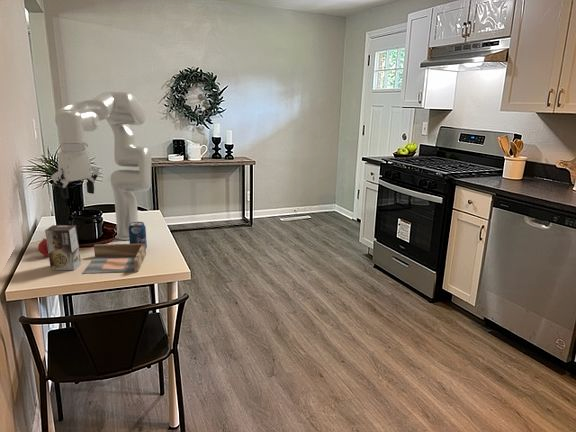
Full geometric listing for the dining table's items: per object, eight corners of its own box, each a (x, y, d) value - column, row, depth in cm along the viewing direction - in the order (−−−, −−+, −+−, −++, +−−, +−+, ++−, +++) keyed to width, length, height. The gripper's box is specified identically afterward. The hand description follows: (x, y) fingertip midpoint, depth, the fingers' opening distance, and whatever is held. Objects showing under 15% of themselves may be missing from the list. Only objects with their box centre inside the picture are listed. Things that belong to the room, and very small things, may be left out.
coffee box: (81, 264, 167) (77, 225, 163) (74, 270, 161) (69, 230, 156) (58, 263, 167) (53, 224, 162) (49, 270, 160) (44, 229, 156)
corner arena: (95, 255, 175) (94, 244, 174) (145, 254, 178) (145, 243, 177) (82, 273, 158) (81, 261, 157) (138, 271, 161) (137, 259, 160)
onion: (51, 252, 177) (49, 234, 175) (58, 256, 174) (55, 237, 172) (36, 256, 173) (34, 237, 171) (42, 260, 170) (40, 241, 167)
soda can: (141, 253, 180) (139, 226, 176) (126, 251, 181) (124, 225, 178) (150, 248, 186) (148, 221, 183) (135, 246, 187) (133, 220, 184)
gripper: (89, 144, 156) (93, 190, 161) (42, 149, 142) (48, 198, 147) (102, 146, 152) (106, 192, 157) (55, 151, 138) (61, 201, 143)
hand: (78, 195), depth 152 cm, fingers open, 9 cm apart
